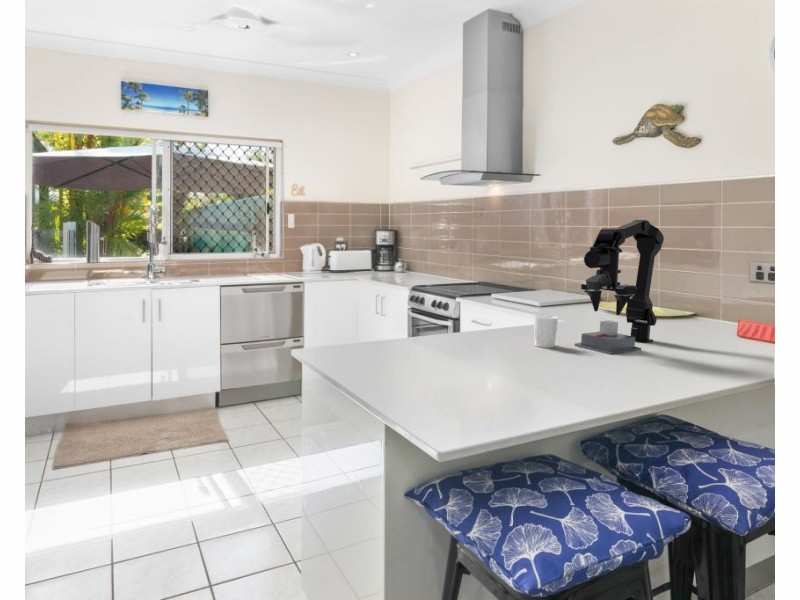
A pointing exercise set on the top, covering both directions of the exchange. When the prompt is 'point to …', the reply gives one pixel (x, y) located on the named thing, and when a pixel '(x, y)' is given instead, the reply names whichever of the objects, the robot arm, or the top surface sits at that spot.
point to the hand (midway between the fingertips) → (606, 313)
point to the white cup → (545, 330)
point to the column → (608, 328)
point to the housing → (608, 343)
